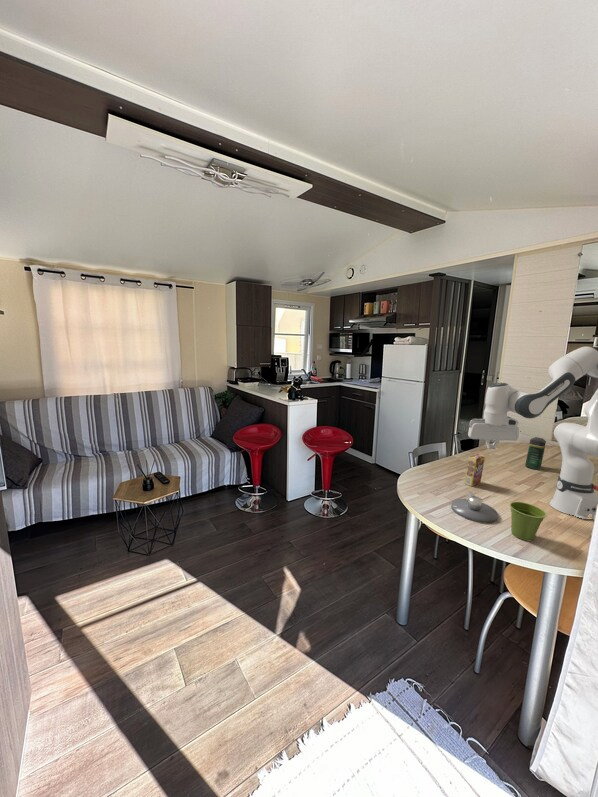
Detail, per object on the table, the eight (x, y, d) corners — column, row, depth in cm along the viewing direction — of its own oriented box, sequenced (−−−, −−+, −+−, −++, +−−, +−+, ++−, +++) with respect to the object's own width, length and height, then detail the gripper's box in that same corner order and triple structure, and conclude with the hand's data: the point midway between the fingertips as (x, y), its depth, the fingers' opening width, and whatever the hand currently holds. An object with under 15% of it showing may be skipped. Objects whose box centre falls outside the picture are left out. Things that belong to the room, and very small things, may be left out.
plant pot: (534, 549, 120) (539, 520, 118) (499, 532, 129) (504, 506, 127) (546, 538, 127) (551, 511, 125) (512, 524, 136) (517, 498, 134)
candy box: (472, 486, 170) (476, 458, 167) (464, 483, 174) (468, 456, 171) (481, 483, 175) (485, 456, 172) (473, 480, 179) (477, 453, 176)
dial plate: (486, 504, 152) (487, 500, 152) (505, 525, 135) (505, 521, 134) (446, 499, 154) (446, 496, 154) (458, 520, 137) (459, 516, 137)
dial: (482, 511, 141) (484, 502, 141) (470, 509, 142) (471, 500, 141) (474, 500, 151) (475, 492, 150) (462, 499, 151) (464, 490, 151)
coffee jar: (539, 471, 197) (545, 441, 194) (523, 467, 202) (529, 438, 199) (541, 467, 204) (547, 438, 201) (526, 463, 210) (531, 435, 206)
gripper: (472, 420, 146) (469, 450, 148) (522, 421, 143) (518, 452, 146) (467, 416, 152) (464, 445, 154) (515, 418, 149) (511, 447, 152)
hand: (491, 448), depth 150 cm, fingers closed
